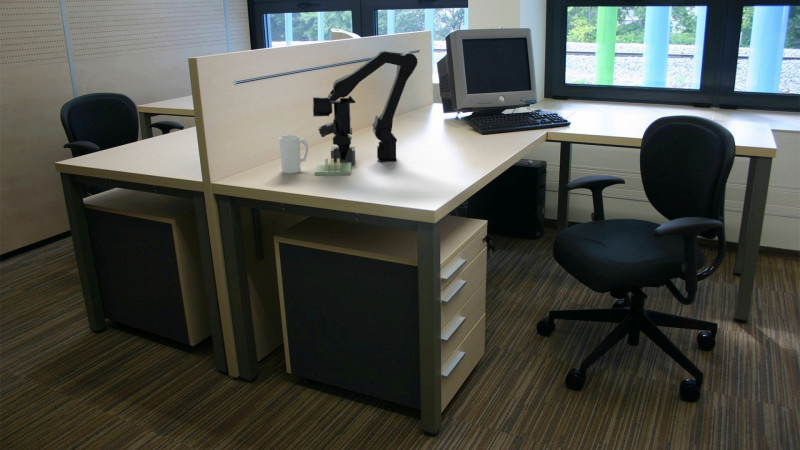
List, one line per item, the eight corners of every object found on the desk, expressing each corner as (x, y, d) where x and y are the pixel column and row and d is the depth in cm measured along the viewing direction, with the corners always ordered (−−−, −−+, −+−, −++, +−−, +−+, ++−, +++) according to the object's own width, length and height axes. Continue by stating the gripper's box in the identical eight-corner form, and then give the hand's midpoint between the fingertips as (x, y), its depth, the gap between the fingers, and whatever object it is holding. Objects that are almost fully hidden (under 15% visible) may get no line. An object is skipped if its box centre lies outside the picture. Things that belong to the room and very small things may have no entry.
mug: (286, 174, 223) (284, 140, 219) (278, 170, 228) (276, 136, 224) (313, 170, 228) (311, 136, 224) (304, 166, 234) (303, 132, 229)
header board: (351, 165, 235) (351, 151, 233) (350, 174, 223) (349, 160, 222) (317, 165, 234) (316, 152, 232) (314, 175, 223) (314, 160, 221)
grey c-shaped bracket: (332, 160, 241) (331, 147, 239) (355, 160, 241) (355, 146, 240) (331, 164, 236) (330, 151, 234) (355, 164, 236) (354, 150, 234)
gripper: (321, 111, 243) (323, 152, 248) (317, 121, 225) (319, 165, 231) (351, 110, 243) (352, 152, 249) (350, 120, 226) (351, 165, 231)
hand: (343, 158), depth 240 cm, fingers closed on grey c-shaped bracket, 2 cm apart
